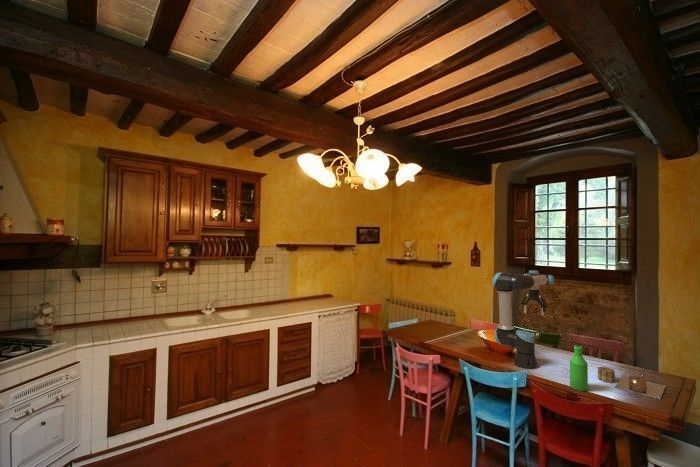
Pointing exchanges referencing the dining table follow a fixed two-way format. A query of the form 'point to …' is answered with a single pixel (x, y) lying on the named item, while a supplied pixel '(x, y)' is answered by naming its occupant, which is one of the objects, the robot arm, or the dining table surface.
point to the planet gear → (606, 374)
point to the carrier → (641, 386)
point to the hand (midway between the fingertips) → (534, 314)
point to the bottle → (578, 371)
